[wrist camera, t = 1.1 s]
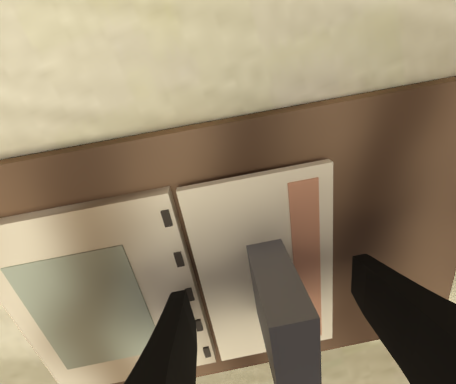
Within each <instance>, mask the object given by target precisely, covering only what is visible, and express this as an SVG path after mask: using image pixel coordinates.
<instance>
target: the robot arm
mask: <svg viewBox="0 0 456 384" xmlns="http://www.w3.org/2000/svg"><path fill="white" fill-rule="evenodd" d="M351 293H352V295H353V297H354V299H355V301H356V303H357V305H358V306H359V308H360V310H361V312H362V314H363V315H364V317H365V318H366V320H367V321H368V323H369V324H370V325H371V327H372V328H373V330H374V331H375V333H376V334H377V336H378V337H379V338H380V340H381V341H382V343H383V344H384V345H385V347H386V348H387V350H388V351H389V353H390V354H391V355H392V357H393V358H394V360H395V361H396V363H397V364H398V365H399V367H400V368H401V370H402V371H403V373H404V374H405V376H406V378H407V379H408V381H409V382H410V384H456V304H455V303H453V302H451V301H449V300H447V299H445V298H443V297H441V296H439V295H437V294H436V293H434V292H432V291H430V290H428V289H426V288H424V287H423V286H421V285H419V284H417V283H416V282H414V281H412V280H410V279H409V278H407V277H405V276H403V275H402V274H400V273H398V272H397V271H395V270H393V269H392V268H390V267H388V266H387V265H385V264H383V263H382V262H380V261H378V260H377V259H375V258H373V257H372V256H370V255H368V254H361V255H356V256H352V278H351ZM196 366H197V330H196V321H195V318H194V315H193V311H192V308H191V305H190V302H189V298H188V295H187V292H186V290H181V291H176V292H171V294H170V295H169V298H168V300H167V302H166V305H165V307H164V309H163V312H162V314H161V316H160V318H159V320H158V322H157V325H156V327H155V329H154V331H153V333H152V335H151V337H150V339H149V341H148V343H147V344H146V346H145V348H144V350H143V352H142V353H141V355H140V357H139V359H138V361H137V362H136V364H135V366H134V368H133V369H132V371H131V373H130V374H129V376H128V377H127V379H126V381H125V382H124V384H196Z"/></svg>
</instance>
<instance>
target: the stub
mask: <svg viewBox="0 0 456 384" xmlns="http://www.w3.org/2000/svg"><path fill="white" fill-rule="evenodd" d="M176 194H177V197H178V201H179V205H180V208H181V212H182V216H183V219H184V223H185V227H186V231H187V234H188V238H189V242H190V245H191V249H192V253H193V256H194V260H195V264H196V268H197V271H198V275H199V279H200V282H201V286H202V290H203V293H204V297H205V301H206V305H207V308H208V312H209V316H210V319H211V323H212V327H213V330H214V334H215V338H216V342H217V345H218V349H219V353H220V356H221V360H222V361H225V360H229V359H234V358H239V357H244V356H249V355H254V354H259V353H263V352H267V356H268V360H269V364H270V368H271V372H272V376H273V381H274V384H321V341H322V340H327V339H331V338H332V309H333V161H331V160H330V159H325V160H320V161H314V162H309V163H304V164H299V165H293V166H288V167H283V168H277V169H272V170H267V171H262V172H256V173H251V174H246V175H240V176H235V177H230V178H225V179H219V180H214V181H209V182H204V183H198V184H193V185H188V186H182V187H177V189H176Z"/></svg>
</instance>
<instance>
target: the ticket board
mask: <svg viewBox="0 0 456 384" xmlns="http://www.w3.org/2000/svg"><path fill="white" fill-rule="evenodd" d="M325 159H330V160H331V161H333V309H332V338H331V339H327V340H322V341H321V351H325V350H330V349H335V348H340V347H344V346H349V345H354V344H359V343H364V342H369V341H373V340H378V339H380V338H379V337H378V336H377V334H376V333H375V331H374V330H373V328H372V327H371V325H370V324H369V323H368V321H367V320H366V318H365V317H364V315H363V314H362V312H361V310H360V308H359V306H358V305H357V303H356V301H355V299H354V297H353V295H352V293H351V278H352V256H356V255H361V254H368V255H370V256H372V257H373V258H375V259H377V260H378V261H380V262H382V263H383V264H385V265H387V266H388V267H390V268H392V269H393V270H395V271H397V272H398V273H400V274H402V275H403V276H405V277H407V278H409V279H410V280H412V281H414V282H416V283H417V284H419V285H421V286H423V287H424V288H426V289H428V290H430V291H432V292H434V293H436V294H437V295H439V296H441V297H443V298H445V299H447V300H448V299H449V295H450V291H451V287H452V283H453V279H454V275H455V271H456V76H454V77H449V78H443V79H438V80H433V81H427V82H422V83H416V84H411V85H405V86H400V87H395V88H389V89H384V90H378V91H373V92H367V93H362V94H356V95H351V96H346V97H340V98H335V99H329V100H324V101H318V102H313V103H308V104H302V105H297V106H291V107H286V108H280V109H275V110H270V111H264V112H259V113H253V114H248V115H242V116H237V117H231V118H226V119H221V120H215V121H210V122H204V123H199V124H193V125H188V126H183V127H177V128H172V129H166V130H161V131H155V132H150V133H145V134H139V135H134V136H128V137H123V138H117V139H112V140H106V141H101V142H96V143H90V144H85V145H79V146H74V147H68V148H63V149H58V150H52V151H47V152H41V153H36V154H30V155H25V156H20V157H14V158H9V159H3V160H0V304H1V305H2V306H3V308H4V309H5V311H6V312H7V313H8V315H9V316H10V318H11V319H12V320H13V322H14V323H15V324H16V326H17V327H18V329H19V330H20V331H21V333H22V334H23V336H24V337H25V338H26V340H27V341H28V343H29V344H30V345H31V347H32V348H33V350H34V351H35V352H36V354H37V355H38V356H39V358H40V359H41V361H42V362H43V363H44V365H45V366H46V368H47V369H48V370H49V372H50V373H51V375H52V376H53V377H54V379H55V380H56V382H57V383H58V384H124V382H125V381H126V379H127V377H128V376H129V374H130V373H131V371H132V369H133V368H134V366H135V364H136V362H137V361H138V359H139V357H140V355H141V353H142V352H143V350H144V348H145V346H146V344H147V343H148V341H149V339H150V337H151V335H152V333H153V331H154V329H155V327H156V325H157V322H158V320H159V318H160V316H161V314H162V312H163V309H164V307H165V305H166V302H167V300H168V298H169V295H170V294H171V292H176V291H181V290H186V292H187V295H188V298H189V302H190V305H191V308H192V311H193V315H194V318H195V321H196V330H197V366H196V377H199V376H204V375H209V374H214V373H219V372H224V371H228V370H233V369H238V368H243V367H248V366H253V365H257V364H262V363H267V362H269V360H268V356H267V352H263V353H259V354H254V355H249V356H244V357H239V358H234V359H229V360H225V361H222V360H221V356H220V353H219V349H218V345H217V342H216V338H215V334H214V330H213V327H212V323H211V319H210V316H209V312H208V308H207V305H206V301H205V297H204V293H203V290H202V286H201V282H200V279H199V275H198V271H197V268H196V264H195V260H194V256H193V253H192V249H191V245H190V242H189V238H188V234H187V231H186V227H185V223H184V219H183V216H182V212H181V208H180V205H179V201H178V197H177V194H176V189H177V187H182V186H188V185H193V184H198V183H204V182H209V181H214V180H219V179H225V178H230V177H235V176H240V175H246V174H251V173H256V172H262V171H267V170H272V169H277V168H283V167H288V166H293V165H299V164H304V163H309V162H314V161H320V160H325Z"/></svg>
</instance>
